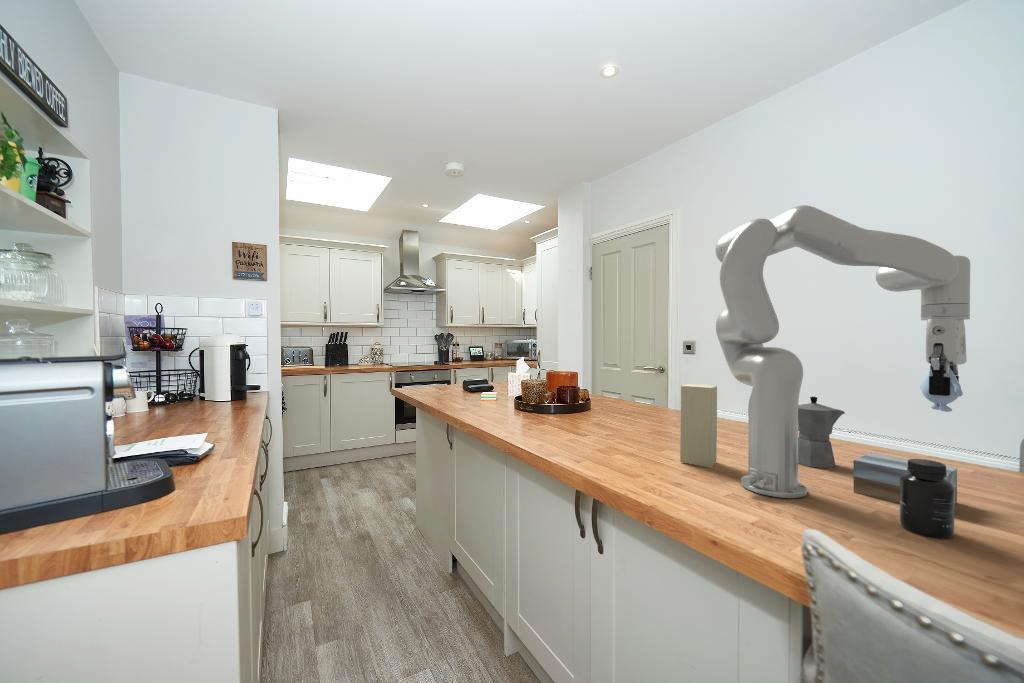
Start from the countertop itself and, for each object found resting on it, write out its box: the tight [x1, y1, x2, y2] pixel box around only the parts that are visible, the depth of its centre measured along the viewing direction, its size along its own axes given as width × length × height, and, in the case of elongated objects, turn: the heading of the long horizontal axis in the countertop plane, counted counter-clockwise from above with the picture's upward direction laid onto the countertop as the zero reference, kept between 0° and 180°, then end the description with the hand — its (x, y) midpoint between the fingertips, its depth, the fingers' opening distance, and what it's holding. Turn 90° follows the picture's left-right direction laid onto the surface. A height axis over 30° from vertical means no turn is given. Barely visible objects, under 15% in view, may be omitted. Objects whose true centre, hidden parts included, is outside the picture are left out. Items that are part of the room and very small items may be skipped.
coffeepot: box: [798, 396, 846, 469], centre depth 113 cm, size 15×9×18 cm, turn 44°
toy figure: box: [919, 367, 964, 413], centre depth 93 cm, size 11×6×12 cm, turn 171°
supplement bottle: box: [899, 458, 956, 540], centre depth 73 cm, size 7×7×12 cm
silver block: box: [853, 452, 958, 505], centre depth 88 cm, size 10×14×7 cm
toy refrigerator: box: [679, 383, 718, 468], centre depth 114 cm, size 8×7×21 cm
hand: (943, 393), depth 92 cm, fingers closed on toy figure, 6 cm apart
